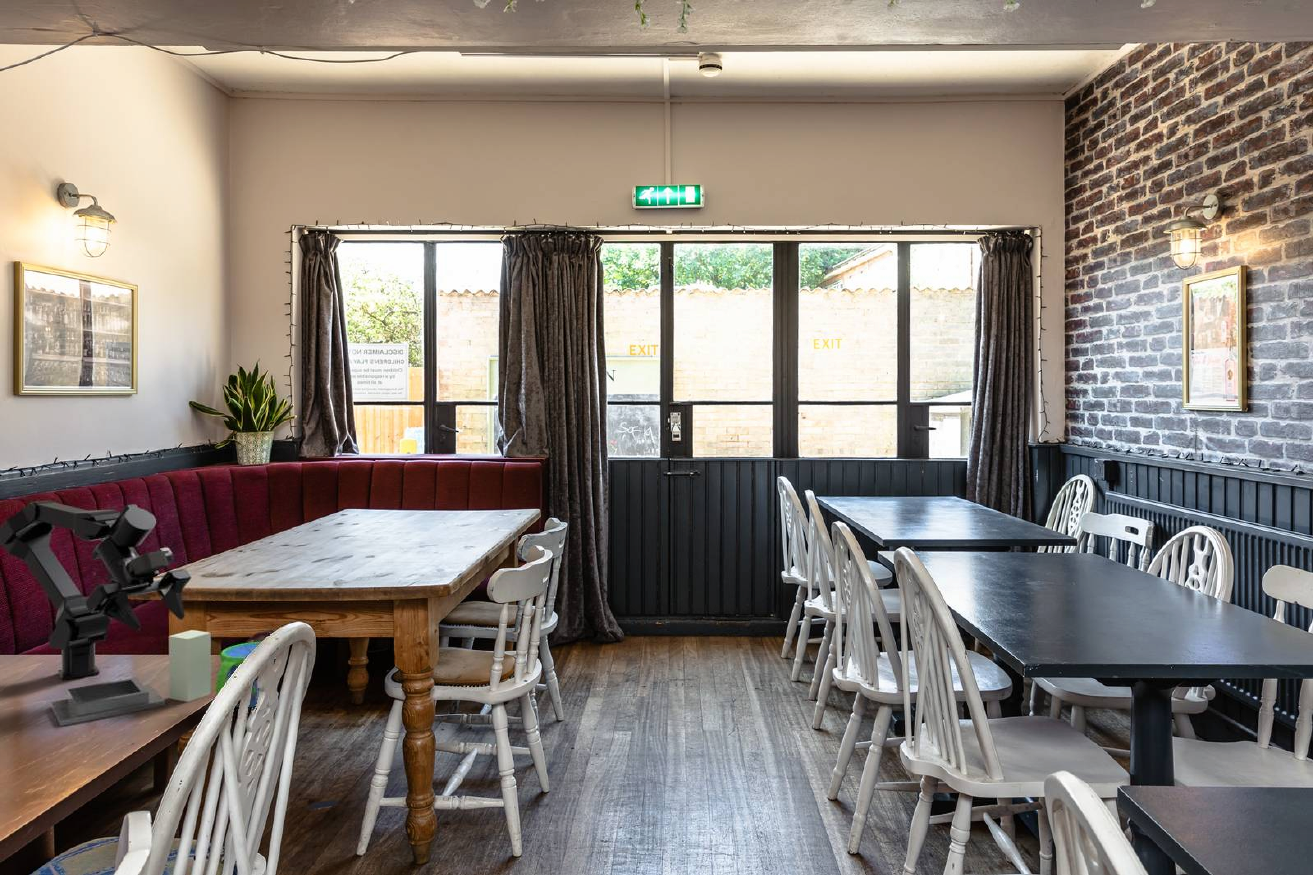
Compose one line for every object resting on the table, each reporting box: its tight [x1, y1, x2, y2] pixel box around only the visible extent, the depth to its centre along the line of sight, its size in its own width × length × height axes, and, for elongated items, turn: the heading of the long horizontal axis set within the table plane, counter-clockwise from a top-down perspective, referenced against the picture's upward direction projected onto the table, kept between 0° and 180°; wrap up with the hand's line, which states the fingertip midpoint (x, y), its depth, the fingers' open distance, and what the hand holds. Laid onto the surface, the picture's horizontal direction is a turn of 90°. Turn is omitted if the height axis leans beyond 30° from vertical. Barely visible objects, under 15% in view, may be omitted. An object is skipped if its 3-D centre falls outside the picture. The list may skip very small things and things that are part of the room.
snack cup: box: [215, 642, 261, 708], centre depth 161 cm, size 16×10×10 cm
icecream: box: [245, 628, 276, 643], centre depth 187 cm, size 7×7×15 cm
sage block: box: [168, 629, 212, 703], centre depth 164 cm, size 5×5×12 cm
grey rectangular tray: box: [50, 677, 166, 727], centre depth 158 cm, size 12×16×3 cm
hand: (161, 623), depth 166 cm, fingers open, 9 cm apart
